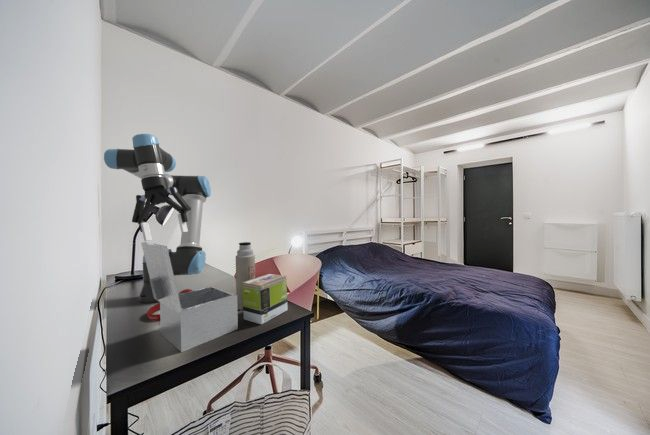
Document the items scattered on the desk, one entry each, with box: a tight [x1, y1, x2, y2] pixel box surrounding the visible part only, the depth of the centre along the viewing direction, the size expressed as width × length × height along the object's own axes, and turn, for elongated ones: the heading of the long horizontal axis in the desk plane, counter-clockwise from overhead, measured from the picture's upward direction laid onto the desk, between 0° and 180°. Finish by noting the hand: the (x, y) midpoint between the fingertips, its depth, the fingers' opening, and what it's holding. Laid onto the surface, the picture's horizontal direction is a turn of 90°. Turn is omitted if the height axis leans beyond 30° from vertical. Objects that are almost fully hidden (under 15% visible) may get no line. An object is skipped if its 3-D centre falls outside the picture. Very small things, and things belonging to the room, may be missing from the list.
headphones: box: [146, 288, 194, 322], centre depth 101 cm, size 15×7×20 cm
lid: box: [141, 241, 182, 313], centre depth 73 cm, size 20×20×3 cm
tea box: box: [242, 273, 288, 325], centre depth 95 cm, size 15×10×15 cm, turn 149°
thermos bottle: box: [235, 241, 256, 311], centre depth 105 cm, size 8×8×28 cm
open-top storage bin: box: [159, 285, 239, 353], centre depth 83 cm, size 18×18×12 cm
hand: (166, 236), depth 85 cm, fingers open, 13 cm apart
